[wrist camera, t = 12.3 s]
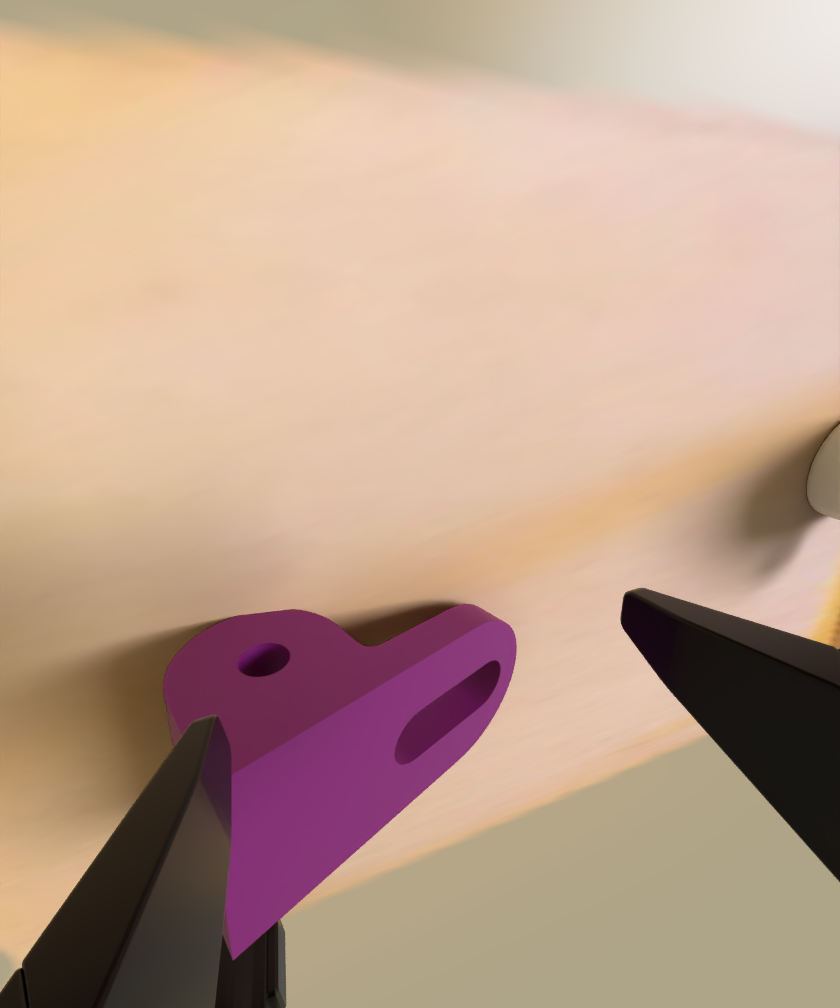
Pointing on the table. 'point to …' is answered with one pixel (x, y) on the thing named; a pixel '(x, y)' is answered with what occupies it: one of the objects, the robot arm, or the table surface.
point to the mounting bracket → (330, 736)
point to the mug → (826, 477)
